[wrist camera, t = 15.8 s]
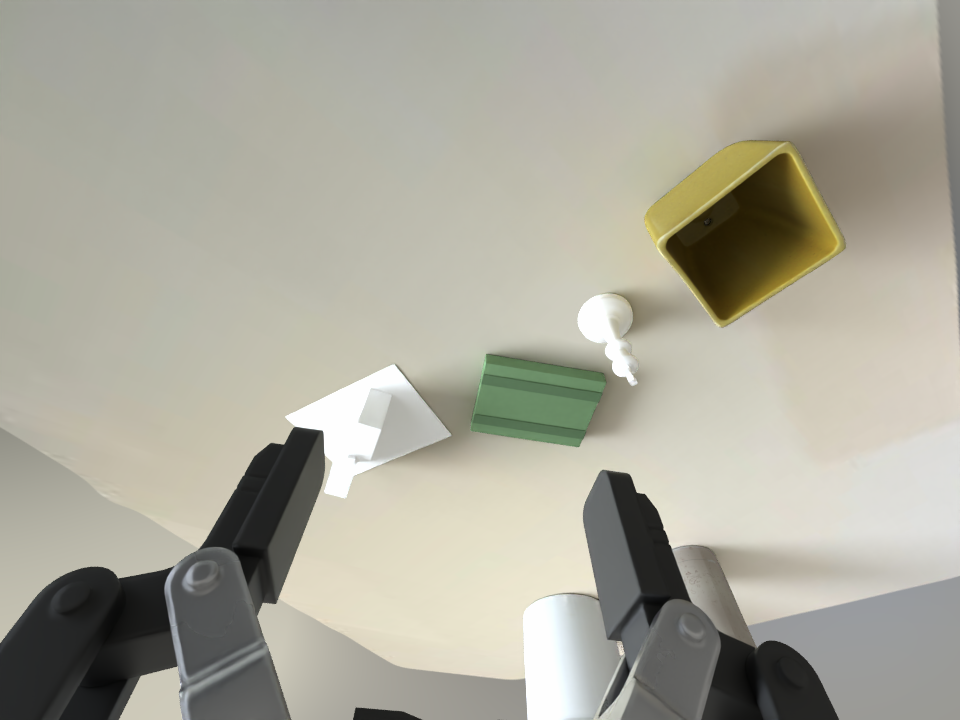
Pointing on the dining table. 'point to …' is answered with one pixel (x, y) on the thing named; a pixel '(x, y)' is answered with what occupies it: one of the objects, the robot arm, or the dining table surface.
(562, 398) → the green flat rectangular block
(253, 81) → the dining table surface
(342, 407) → the napkin holder
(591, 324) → the chess piece
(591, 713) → the utensil holder
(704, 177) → the flower pot
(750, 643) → the thermos bottle
